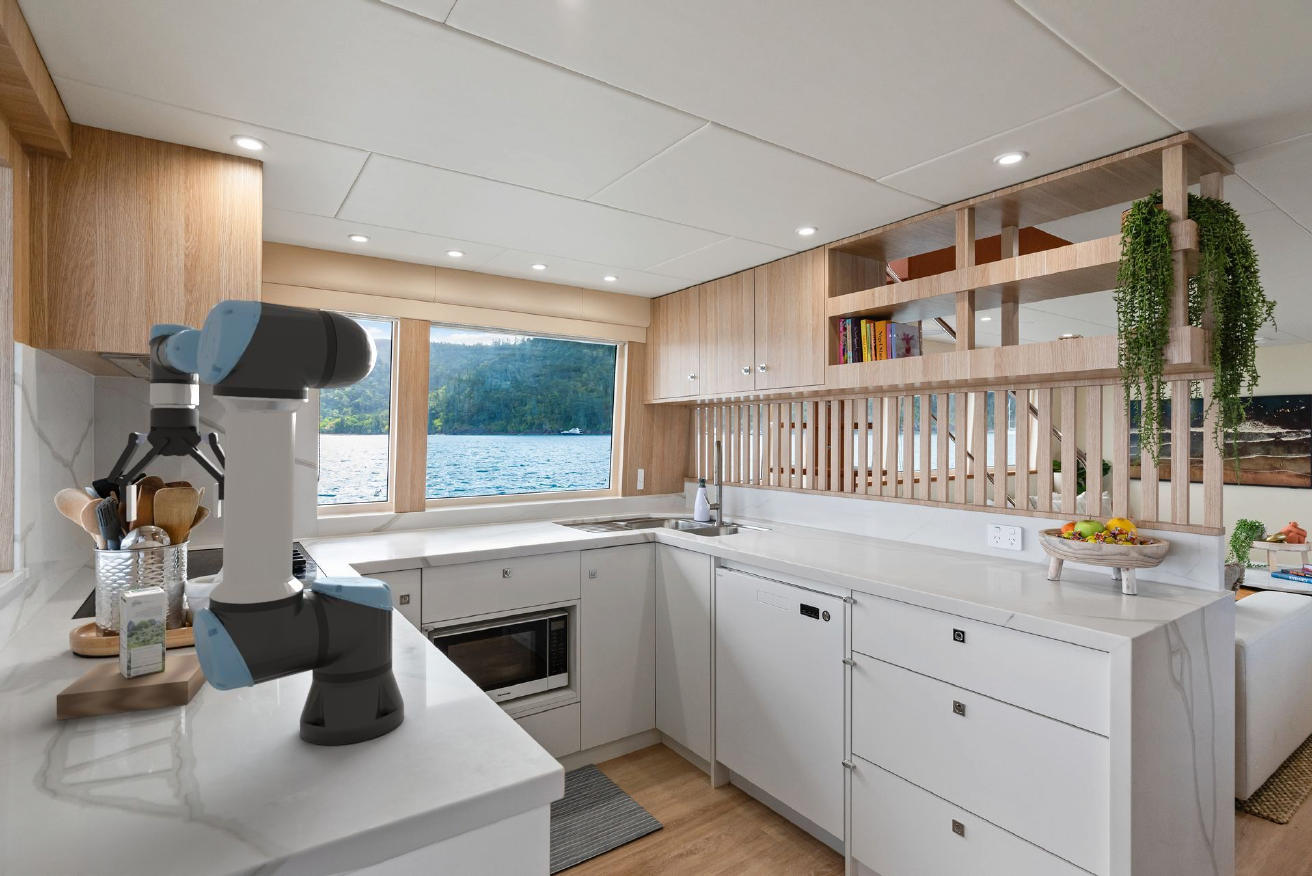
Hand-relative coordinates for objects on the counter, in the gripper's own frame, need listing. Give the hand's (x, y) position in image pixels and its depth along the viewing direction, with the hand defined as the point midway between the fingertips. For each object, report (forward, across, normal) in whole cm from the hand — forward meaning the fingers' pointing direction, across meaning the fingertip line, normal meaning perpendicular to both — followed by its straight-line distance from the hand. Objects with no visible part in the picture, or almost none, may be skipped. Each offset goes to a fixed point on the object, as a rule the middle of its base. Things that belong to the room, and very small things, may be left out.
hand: (175, 518), depth 128 cm
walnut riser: (+30, +3, +8) cm, 31 cm away
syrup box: (+26, +3, +8) cm, 28 cm away
